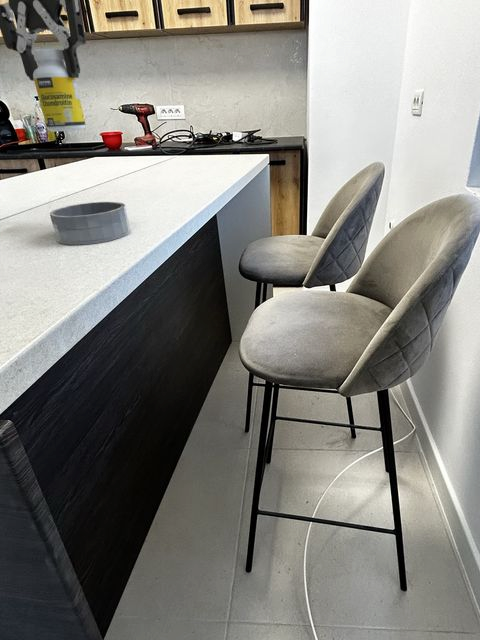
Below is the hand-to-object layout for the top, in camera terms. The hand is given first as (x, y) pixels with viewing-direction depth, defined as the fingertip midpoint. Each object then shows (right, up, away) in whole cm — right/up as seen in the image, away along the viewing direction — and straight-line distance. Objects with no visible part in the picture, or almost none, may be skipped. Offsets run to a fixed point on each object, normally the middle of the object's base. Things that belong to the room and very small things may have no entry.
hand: (54, 78), depth 72 cm
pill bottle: (0, -7, +4) cm, 8 cm away
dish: (+5, -25, +4) cm, 26 cm away
